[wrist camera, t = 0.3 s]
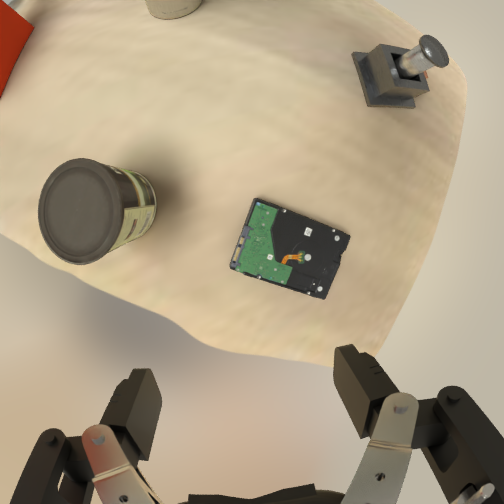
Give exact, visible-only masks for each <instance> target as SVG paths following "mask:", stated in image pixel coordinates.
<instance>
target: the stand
mask: <svg viewBox="0 0 504 504" xmlns="http://www.w3.org/2000/svg"><path fill="white" fill-rule="evenodd" d="M408 51H410V50H409V49H405V48H400V47H395V46H390V45H384V44H379V45H378V46H377V47H376V48H375V49H373V50H372V51H371V52H370V53H362V52H353V53H352V57H353V60H354V63H355V66H356V69H357V72H358V75H359V79H360V82H361V85H362V89H363V92H364V96H365V99H366V103H367V106H373V107H398V108H412V109H413V108H415V107H416V106H415V103H414V99H413V98H414V97H417V96H419V95H421V94H424V93H426V92H428V91H430V90H429V87H428V84H427V81H426V78H428V76H427V73H426V70H425V71H424V72H422V73H420V74H418V75H416V76H414V77H412V78H410V79H408V80H406V79H400V78H399V75H398V72H397V69H396V67H395V64H394V61H395V60H396V59H398V58H399V57H401V56H402V55H404V54H405V53H407V52H408Z"/></svg>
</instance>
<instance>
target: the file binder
mask: <svg viewBox="0 0 504 504" xmlns="http://www.w3.org/2000/svg"><path fill="white" fill-rule="evenodd" d="M33 29H34V27H33V26H32V25H31V24H30V23H28V22H27V21H26V20H25V19H24V18H23V17H21V16H20V15H19V14H18V13H17V12H16V11H14V10H13V9H12V8H11V7H10V6H8V5H7V4H6V3H5V2H4V1H2V0H0V97H1V95H2V92H3V90H4V87H5V85H6V82H7V80H8V78H9V75H10V73H11V71H12V69H13V67H14V64H15V62H16V60H17V58H18V56H19V54H20V52H21V50H22V49H23V47H24V45H25V43H26V41H27V39H28V38H29V36H30V34H31V32H32V31H33Z"/></svg>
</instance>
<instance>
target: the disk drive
mask: <svg viewBox="0 0 504 504" xmlns="http://www.w3.org/2000/svg"><path fill="white" fill-rule="evenodd" d="M349 240H350V235H348V234H346V233H344V232H342V231H339V230H337V229H334V228H331V227H329V226H327V225H324V224H322V223H319V222H317V221H315V220H312V219H309V218H307V217H305V216H302V215H300V214H297V213H295V212H292V211H290V210H287V209H285V208H282V207H279V206H278V205H275V204H272V203H268V202H266V201H263V200H261V199H258V198H254V199H253V202H252V205H251V207H250V210H249V213H248V215H247V218H246V221H245V223H244V226H243V230H242V232H241V235H240V237H239V240H238V243H237V245H236V248H235V251H234V254H233V256H232V259H231V262H230V269H233V270H235V271H237V272H241V273H243V274H244V275H247V276H250V277H254V278H257V279H260V280H263V281H266V282H269V283H272V284H275V285H278V286H281V287H285V288H288V289H291V290H294V291H297V292H301V293H304V294H307V295H310V296H312V297H316V298H320V299H323V300H324V299H325V298H326V296H327V294H328V291H329V289H330V286H331V284H332V282H333V279H334V277H335V275H336V273H337V270H338V268H339V265H340V260H341V256H340V255H341V254H343V252H344V250H346V248H347V245H348V242H349Z"/></svg>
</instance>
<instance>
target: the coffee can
mask: <svg viewBox="0 0 504 504" xmlns="http://www.w3.org/2000/svg"><path fill="white" fill-rule="evenodd" d="M156 207H157V203H156V196H155V192H154V190H153V188H152V186H151V184H150V183H149V181H148V180H147V179H146V178H145V177H144V176H142V175H141V174H139V173H137V172H134V171H130V170H124V169H120V168H116V167H113V166H109V165H105V164H101V163H99V162H97V161H94V160H91V159H85V158H78V159H73V160H69V161H67V162H65V163H63V164H61V165H60V166H59V167H57V168H56V169H55V170H54V171H53V172H52V173H51V175H50V176H49V177H48V179H47V181H46V182H45V184H44V186H43V189H42V191H41V195H40V199H39V205H38V220H39V226H40V230H41V233H42V236H43V238H44V240H45V242H46V244H47V246H48V247H49V248H50V250H51V251H52V252H53V253H54V254H55V255H56V256H57V257H59V258H60V259H62V260H64V261H65V262H68V263H71V264H75V265H85V264H89V263H92V262H95V261H97V260H99V259H100V258H102V257H103V256H104V255H105V254H107V253H109V252H111V251H113V250H114V249H116V248H118V247H120V246H122V245H124V244H126V243H128V242H130V241H132V240H135V239H137V238H139V237H140V236H142V235H143V234H144V233H145V232H146V231H147V230H148V229H149V227H150V226H151V224H152V222H153V220H154V217H155V214H156Z"/></svg>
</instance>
